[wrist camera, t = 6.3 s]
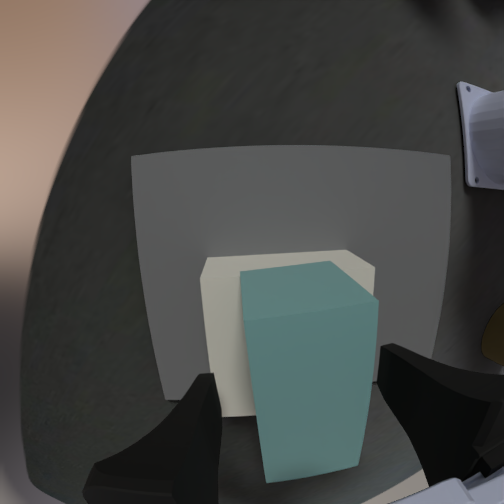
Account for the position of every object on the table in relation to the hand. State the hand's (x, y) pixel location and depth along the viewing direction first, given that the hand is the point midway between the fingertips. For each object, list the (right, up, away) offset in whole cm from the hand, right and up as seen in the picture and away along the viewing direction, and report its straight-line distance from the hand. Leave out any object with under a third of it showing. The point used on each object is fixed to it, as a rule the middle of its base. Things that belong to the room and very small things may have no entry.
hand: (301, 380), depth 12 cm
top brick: (0, +1, +2) cm, 2 cm away
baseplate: (+1, +4, +7) cm, 8 cm away
